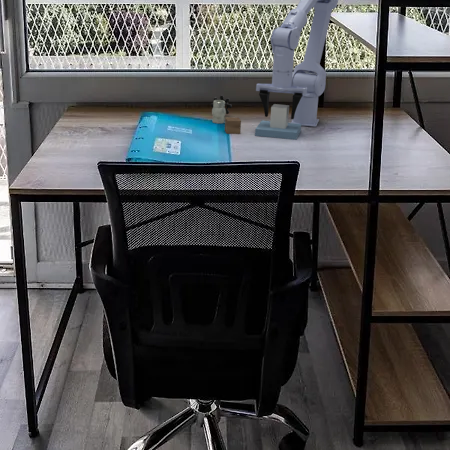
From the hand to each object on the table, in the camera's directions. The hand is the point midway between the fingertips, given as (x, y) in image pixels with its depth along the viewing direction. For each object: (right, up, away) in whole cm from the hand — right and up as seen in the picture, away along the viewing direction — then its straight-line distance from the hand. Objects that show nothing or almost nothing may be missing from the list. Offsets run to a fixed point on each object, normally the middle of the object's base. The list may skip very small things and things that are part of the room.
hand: (279, 117), depth 242 cm
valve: (-18, +1, +16) cm, 24 cm away
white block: (0, -3, +1) cm, 3 cm away
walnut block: (-14, -4, 0) cm, 14 cm away
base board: (0, -4, +2) cm, 5 cm away
